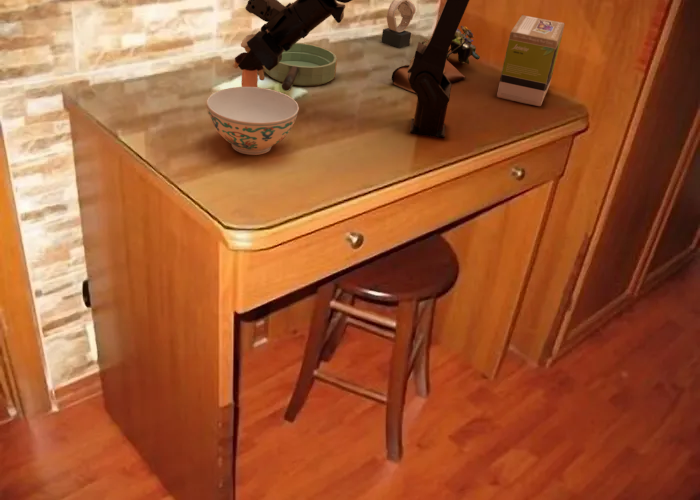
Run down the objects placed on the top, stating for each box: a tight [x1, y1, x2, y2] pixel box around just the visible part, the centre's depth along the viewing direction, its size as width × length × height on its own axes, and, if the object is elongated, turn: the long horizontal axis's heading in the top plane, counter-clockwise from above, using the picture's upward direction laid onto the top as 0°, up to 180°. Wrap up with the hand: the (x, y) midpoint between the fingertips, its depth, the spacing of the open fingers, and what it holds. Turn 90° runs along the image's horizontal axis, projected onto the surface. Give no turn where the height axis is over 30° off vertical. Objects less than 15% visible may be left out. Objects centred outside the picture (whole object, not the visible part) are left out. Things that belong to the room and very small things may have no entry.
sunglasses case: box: [391, 58, 467, 94], centre depth 161 cm, size 18×7×7 cm, turn 139°
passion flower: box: [421, 25, 481, 65], centre depth 170 cm, size 11×11×12 cm
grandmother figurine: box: [232, 33, 266, 87], centre depth 138 cm, size 8×4×13 cm, turn 65°
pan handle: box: [281, 66, 299, 92], centre depth 144 cm, size 11×2×2 cm, turn 174°
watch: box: [381, 0, 417, 49], centre depth 179 cm, size 6×8×11 cm
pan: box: [263, 42, 338, 87], centre depth 155 cm, size 15×15×4 cm
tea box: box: [496, 14, 565, 107], centre depth 159 cm, size 15×10×15 cm, turn 160°
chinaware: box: [206, 86, 300, 156], centre depth 123 cm, size 15×15×8 cm
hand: (242, 64), depth 138 cm, fingers closed on grandmother figurine, 3 cm apart
